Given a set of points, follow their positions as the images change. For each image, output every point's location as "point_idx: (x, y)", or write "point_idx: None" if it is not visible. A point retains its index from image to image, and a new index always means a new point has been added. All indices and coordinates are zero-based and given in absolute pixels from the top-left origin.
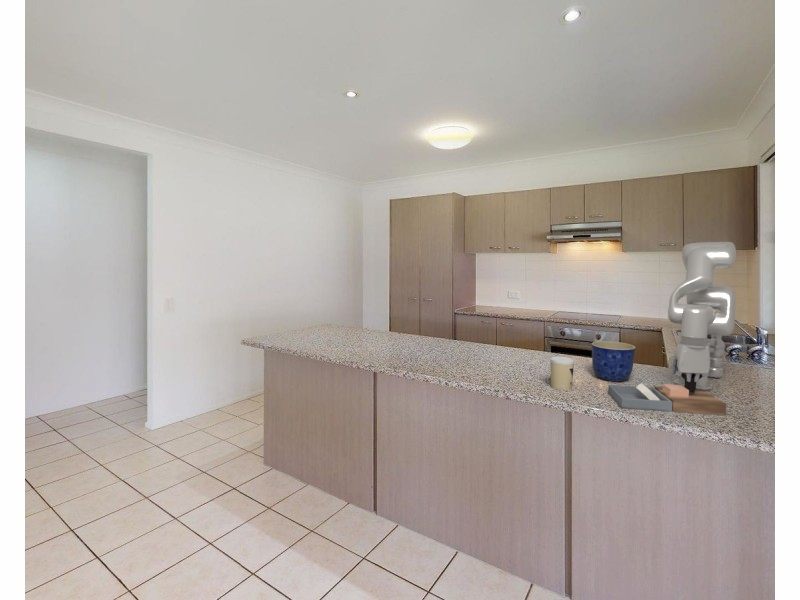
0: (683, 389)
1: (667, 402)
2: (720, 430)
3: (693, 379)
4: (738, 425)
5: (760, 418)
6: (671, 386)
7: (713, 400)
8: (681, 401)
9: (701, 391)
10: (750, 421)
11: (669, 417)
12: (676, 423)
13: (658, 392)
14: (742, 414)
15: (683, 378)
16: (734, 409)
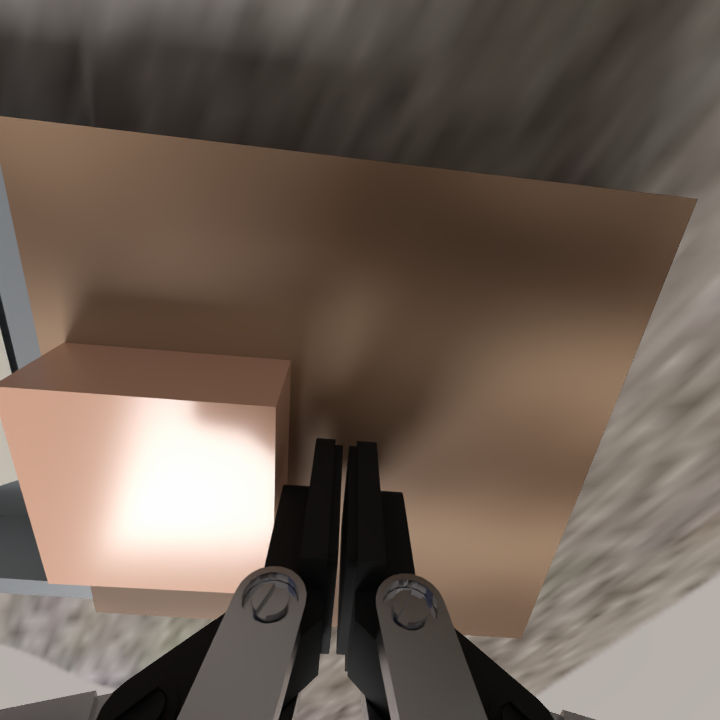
0: (215, 578)
1: (58, 589)
2: (297, 713)
3: (360, 688)
4: None
5: (680, 579)
6: (99, 484)
7: (473, 583)
8: (166, 612)
9: (583, 331)
10: (564, 619)
11: (89, 607)
12: (103, 668)
13: (23, 356)
14: (629, 531)
15: (224, 614)
16: (671, 448)
